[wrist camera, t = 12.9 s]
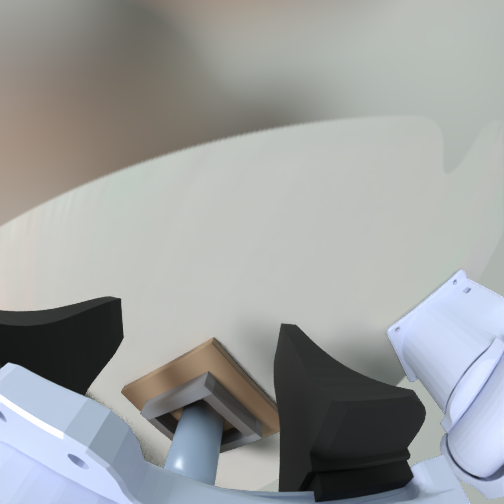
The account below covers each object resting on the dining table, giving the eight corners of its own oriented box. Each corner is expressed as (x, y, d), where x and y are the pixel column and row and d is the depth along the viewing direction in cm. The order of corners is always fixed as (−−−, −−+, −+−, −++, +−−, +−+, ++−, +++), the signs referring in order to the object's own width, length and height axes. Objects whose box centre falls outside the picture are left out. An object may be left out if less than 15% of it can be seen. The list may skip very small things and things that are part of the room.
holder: (213, 337, 22) (207, 357, 19) (290, 419, 24) (292, 440, 21) (124, 386, 23) (112, 404, 20) (199, 452, 25) (195, 471, 22)
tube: (205, 394, 22) (188, 462, 14) (233, 419, 23) (225, 486, 15) (174, 408, 22) (151, 470, 15) (201, 432, 23) (187, 493, 15)
